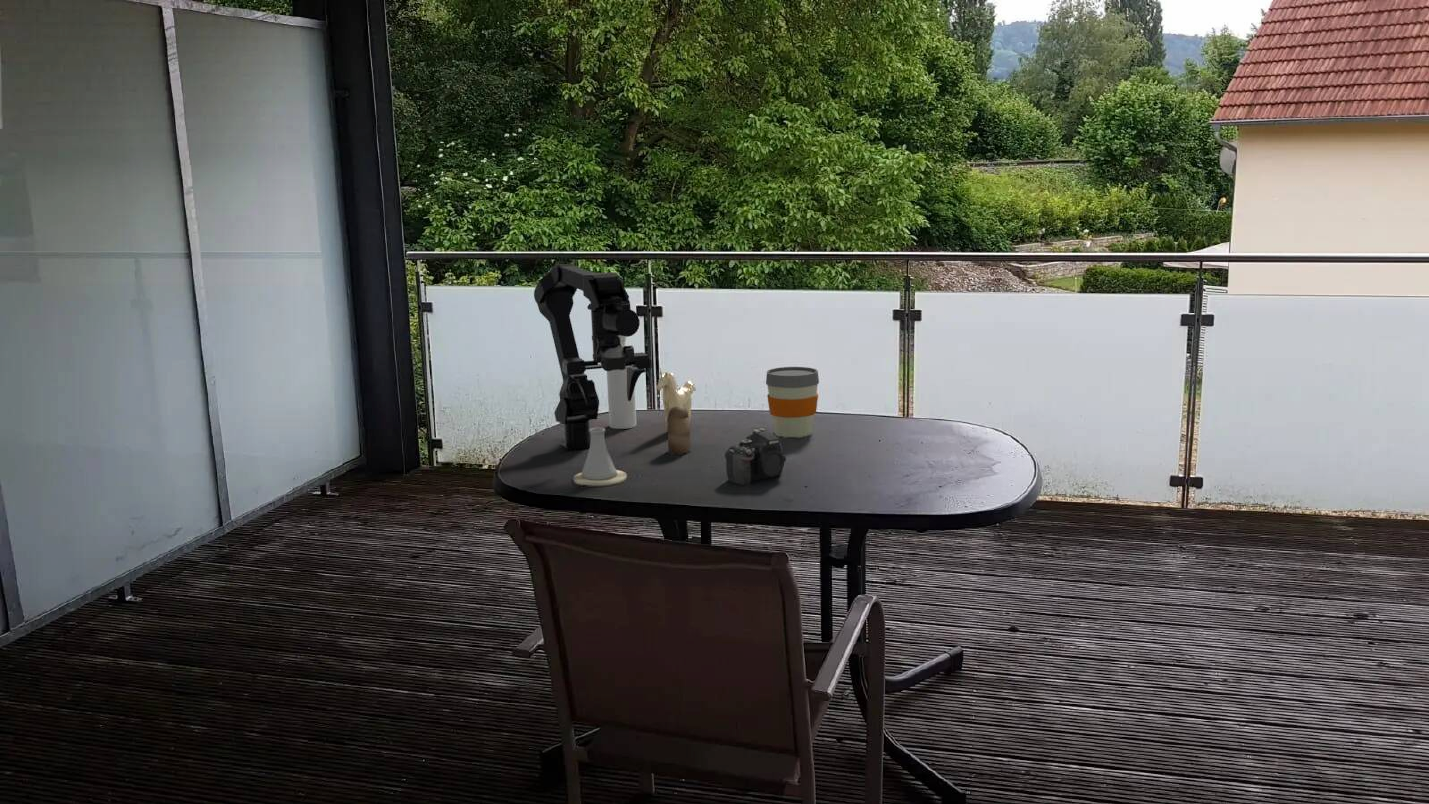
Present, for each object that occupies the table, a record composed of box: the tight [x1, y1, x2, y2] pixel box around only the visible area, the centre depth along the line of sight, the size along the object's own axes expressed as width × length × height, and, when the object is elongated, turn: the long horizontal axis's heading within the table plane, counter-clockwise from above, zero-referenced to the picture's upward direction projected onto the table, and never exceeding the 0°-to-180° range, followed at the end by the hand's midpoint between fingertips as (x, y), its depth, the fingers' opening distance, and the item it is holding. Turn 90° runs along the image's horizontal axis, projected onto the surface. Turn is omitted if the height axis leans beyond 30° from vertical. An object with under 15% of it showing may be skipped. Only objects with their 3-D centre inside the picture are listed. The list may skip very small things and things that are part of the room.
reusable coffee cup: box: [765, 366, 820, 438], centre depth 271 cm, size 13×12×15 cm
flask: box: [581, 427, 618, 480], centre depth 237 cm, size 7×7×10 cm
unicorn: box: [656, 368, 697, 427], centre depth 277 cm, size 20×4×17 cm, turn 156°
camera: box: [724, 428, 787, 486], centre depth 234 cm, size 13×10×10 cm
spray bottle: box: [606, 335, 637, 430], centre depth 283 cm, size 7×7×25 cm
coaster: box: [573, 469, 628, 487], centre depth 237 cm, size 11×11×1 cm
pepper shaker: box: [666, 406, 692, 455], centre depth 257 cm, size 5×5×10 cm
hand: (608, 402), depth 250 cm, fingers open, 9 cm apart
